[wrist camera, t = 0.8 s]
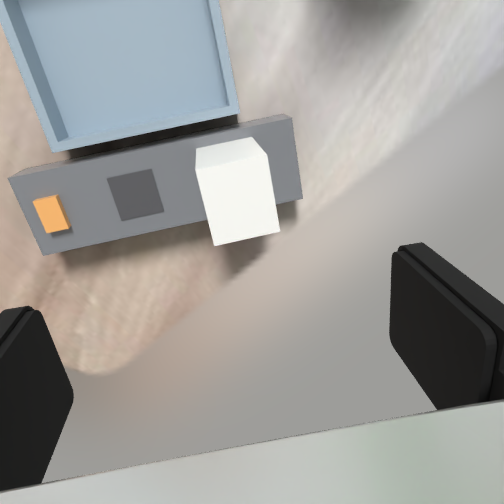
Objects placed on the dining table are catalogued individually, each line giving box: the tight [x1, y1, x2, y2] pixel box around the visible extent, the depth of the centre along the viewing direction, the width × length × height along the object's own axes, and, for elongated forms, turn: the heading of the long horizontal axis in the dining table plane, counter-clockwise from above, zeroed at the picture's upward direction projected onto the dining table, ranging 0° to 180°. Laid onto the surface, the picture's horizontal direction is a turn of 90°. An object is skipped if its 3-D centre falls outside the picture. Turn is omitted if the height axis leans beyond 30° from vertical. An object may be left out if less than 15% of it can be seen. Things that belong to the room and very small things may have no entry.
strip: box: [8, 114, 303, 256], centre depth 30 cm, size 20×6×4 cm, turn 101°
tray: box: [0, 0, 240, 153], centre depth 26 cm, size 13×12×3 cm
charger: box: [195, 137, 280, 246], centre depth 27 cm, size 4×5×9 cm
